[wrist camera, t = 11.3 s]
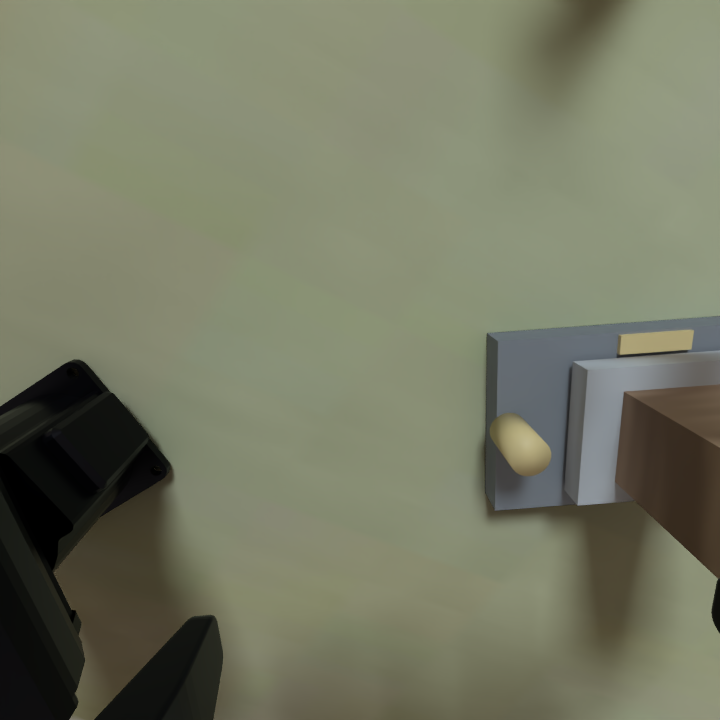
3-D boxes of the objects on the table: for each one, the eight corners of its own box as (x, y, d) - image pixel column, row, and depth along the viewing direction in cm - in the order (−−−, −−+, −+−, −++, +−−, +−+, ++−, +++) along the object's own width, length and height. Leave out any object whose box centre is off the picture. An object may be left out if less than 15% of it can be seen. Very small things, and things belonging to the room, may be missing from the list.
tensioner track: (479, 492, 22) (507, 547, 19) (480, 333, 20) (512, 358, 16) (845, 464, 23) (948, 512, 19) (886, 304, 20) (1012, 321, 17)
